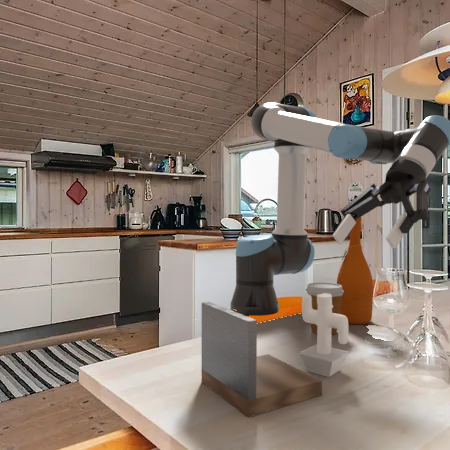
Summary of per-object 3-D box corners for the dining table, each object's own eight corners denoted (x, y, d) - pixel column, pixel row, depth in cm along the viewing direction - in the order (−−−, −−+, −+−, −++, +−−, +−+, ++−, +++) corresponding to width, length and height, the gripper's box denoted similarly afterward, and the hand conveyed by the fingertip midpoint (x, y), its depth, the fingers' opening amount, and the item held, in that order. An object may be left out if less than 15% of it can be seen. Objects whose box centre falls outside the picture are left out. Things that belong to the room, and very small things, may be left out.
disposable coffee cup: (351, 332, 107) (351, 286, 106) (325, 339, 101) (326, 290, 101) (323, 324, 115) (323, 281, 114) (297, 329, 109) (298, 284, 109)
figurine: (337, 383, 75) (338, 300, 75) (293, 369, 82) (293, 293, 81) (355, 371, 81) (356, 294, 80) (311, 360, 87) (312, 288, 87)
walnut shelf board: (268, 366, 83) (268, 354, 83) (321, 395, 70) (321, 380, 70) (201, 382, 76) (201, 368, 75) (248, 417, 63) (248, 400, 63)
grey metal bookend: (208, 366, 76) (208, 301, 76) (256, 398, 63) (256, 320, 63) (201, 368, 75) (201, 302, 75) (248, 400, 63) (248, 321, 62)
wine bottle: (352, 315, 125) (353, 215, 124) (380, 322, 117) (381, 215, 116) (328, 319, 120) (330, 215, 119) (355, 327, 112) (357, 215, 111)
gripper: (474, 179, 82) (427, 259, 75) (371, 186, 103) (326, 249, 96) (459, 149, 79) (408, 230, 72) (356, 163, 101) (309, 227, 93)
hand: (361, 241), depth 84 cm, fingers open, 13 cm apart
